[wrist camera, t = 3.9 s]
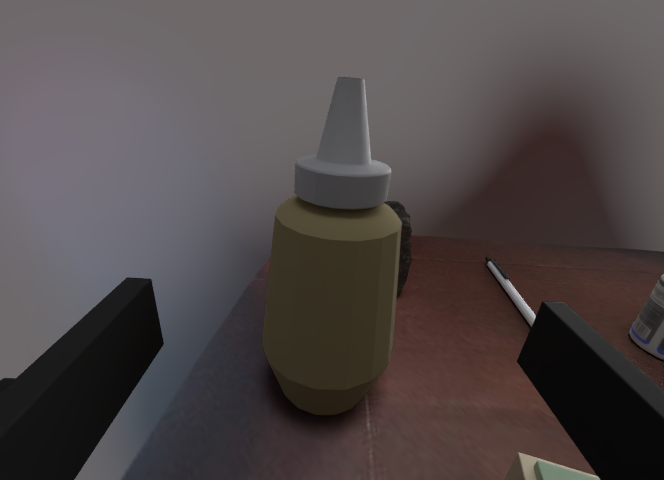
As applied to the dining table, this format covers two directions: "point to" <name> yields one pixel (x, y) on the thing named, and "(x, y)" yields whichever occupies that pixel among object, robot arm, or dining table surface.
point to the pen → (511, 291)
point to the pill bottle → (651, 323)
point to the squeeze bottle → (334, 267)
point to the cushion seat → (543, 470)
